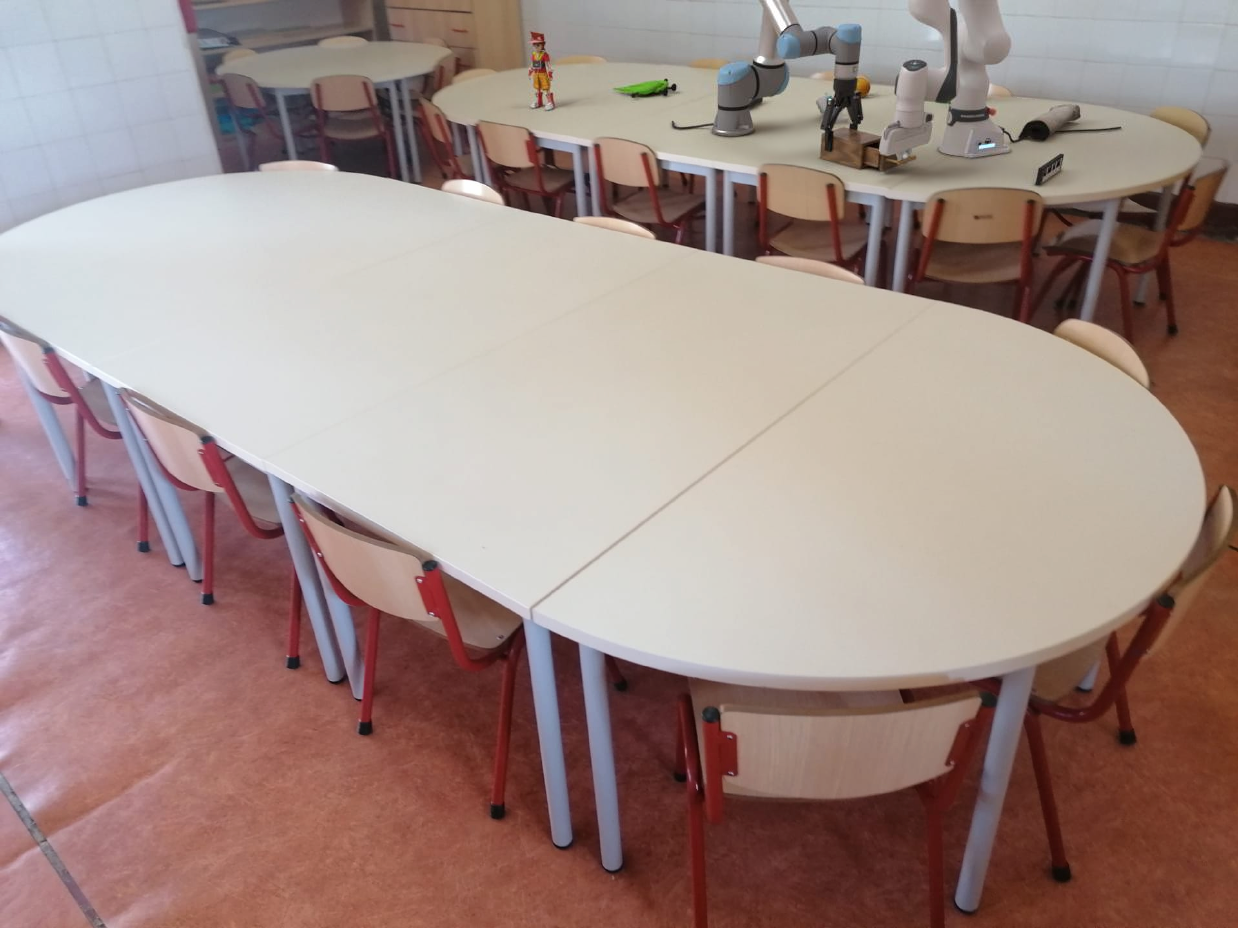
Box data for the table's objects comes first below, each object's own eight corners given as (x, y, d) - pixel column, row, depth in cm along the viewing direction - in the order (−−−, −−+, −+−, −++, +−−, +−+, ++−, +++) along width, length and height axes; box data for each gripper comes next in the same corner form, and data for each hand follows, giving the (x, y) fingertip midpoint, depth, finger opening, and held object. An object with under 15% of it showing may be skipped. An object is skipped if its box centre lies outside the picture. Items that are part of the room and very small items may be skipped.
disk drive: (747, 111, 360) (763, 102, 370) (747, 104, 359) (763, 95, 369) (724, 109, 365) (740, 100, 375) (724, 101, 363) (740, 93, 373)
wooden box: (881, 162, 296) (884, 137, 291) (859, 169, 291) (862, 143, 287) (841, 151, 308) (843, 127, 304) (819, 158, 304) (821, 133, 299)
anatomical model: (811, 92, 345) (837, 85, 344) (814, 119, 351) (839, 112, 350) (821, 101, 332) (848, 94, 332) (824, 129, 338) (850, 122, 337)
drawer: (916, 169, 285) (919, 149, 282) (896, 175, 281) (899, 155, 278) (862, 154, 301) (864, 136, 297) (843, 160, 296) (844, 141, 293)
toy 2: (686, 85, 398) (631, 84, 414) (685, 72, 395) (629, 72, 411) (651, 104, 381) (596, 103, 397) (650, 92, 378) (594, 91, 394)
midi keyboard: (1039, 185, 269) (1043, 168, 266) (1035, 184, 270) (1038, 168, 267) (1060, 170, 279) (1064, 154, 277) (1056, 169, 280) (1060, 153, 277)
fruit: (843, 89, 366) (855, 71, 363) (846, 93, 374) (858, 75, 371) (860, 101, 365) (872, 82, 362) (862, 104, 373) (874, 86, 369)
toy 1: (525, 109, 381) (517, 32, 364) (534, 104, 388) (527, 28, 371) (550, 110, 377) (543, 32, 360) (559, 105, 384) (553, 28, 367)
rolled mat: (1047, 109, 327) (1072, 92, 319) (1061, 130, 327) (1086, 113, 319) (1014, 132, 309) (1039, 114, 301) (1028, 154, 310) (1054, 137, 302)
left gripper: (829, 85, 281) (823, 156, 294) (879, 73, 292) (872, 142, 304) (811, 82, 286) (807, 152, 299) (861, 70, 297) (855, 138, 309)
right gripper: (893, 127, 269) (887, 173, 277) (937, 114, 278) (931, 159, 286) (876, 123, 273) (872, 169, 281) (921, 110, 282) (915, 155, 290)
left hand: (840, 147), depth 301 cm, fingers closed on wooden box, 11 cm apart
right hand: (902, 164), depth 283 cm, fingers closed, pressing on drawer
